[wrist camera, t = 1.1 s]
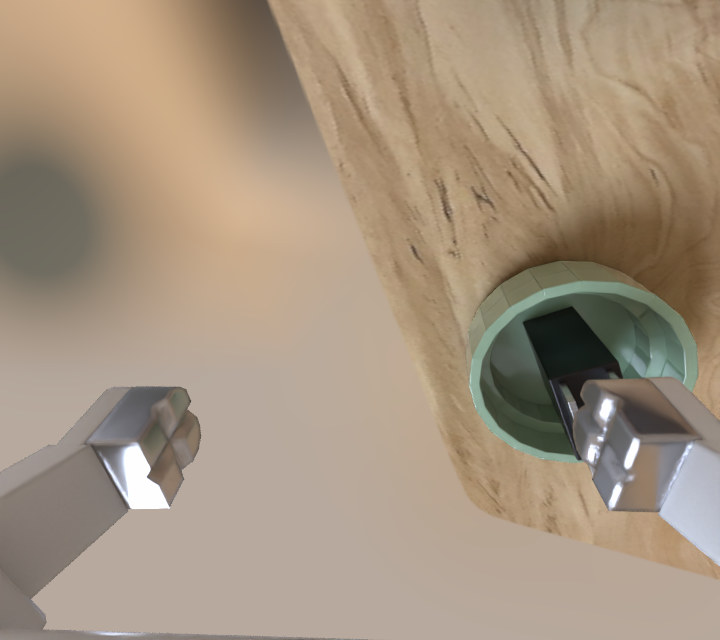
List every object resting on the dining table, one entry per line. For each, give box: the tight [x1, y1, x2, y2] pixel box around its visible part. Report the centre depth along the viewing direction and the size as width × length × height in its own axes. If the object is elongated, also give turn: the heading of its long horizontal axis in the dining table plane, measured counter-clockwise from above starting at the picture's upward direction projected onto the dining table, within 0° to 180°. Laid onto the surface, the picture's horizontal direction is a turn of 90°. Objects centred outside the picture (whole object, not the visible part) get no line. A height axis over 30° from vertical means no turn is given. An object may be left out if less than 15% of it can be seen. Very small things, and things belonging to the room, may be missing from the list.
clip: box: [523, 306, 624, 476], centre depth 22 cm, size 5×3×9 cm, turn 25°
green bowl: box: [466, 261, 698, 463], centre depth 24 cm, size 11×11×4 cm
